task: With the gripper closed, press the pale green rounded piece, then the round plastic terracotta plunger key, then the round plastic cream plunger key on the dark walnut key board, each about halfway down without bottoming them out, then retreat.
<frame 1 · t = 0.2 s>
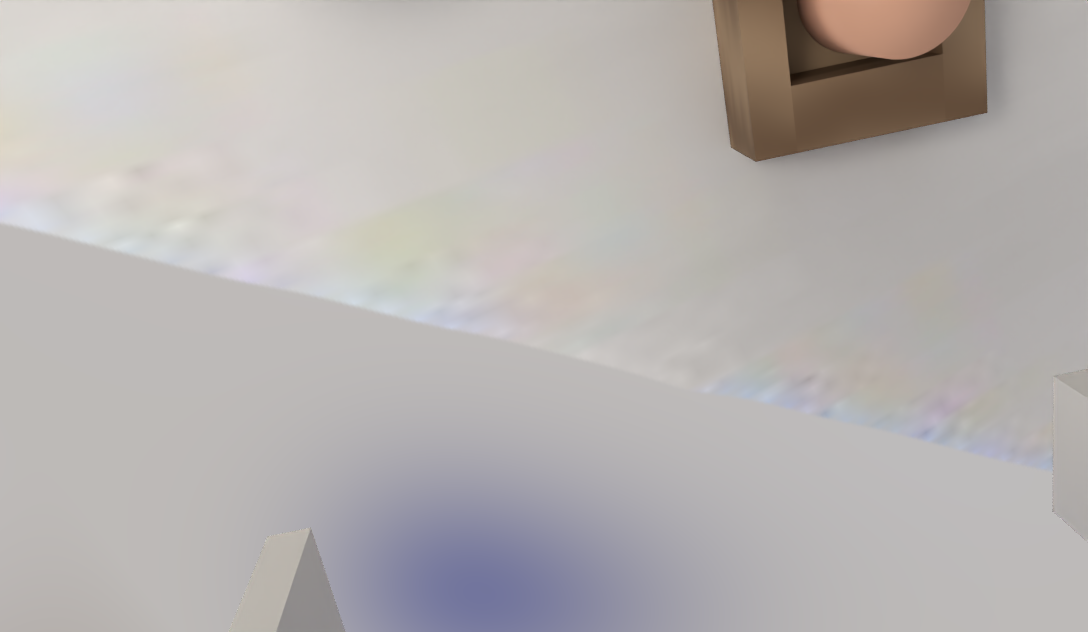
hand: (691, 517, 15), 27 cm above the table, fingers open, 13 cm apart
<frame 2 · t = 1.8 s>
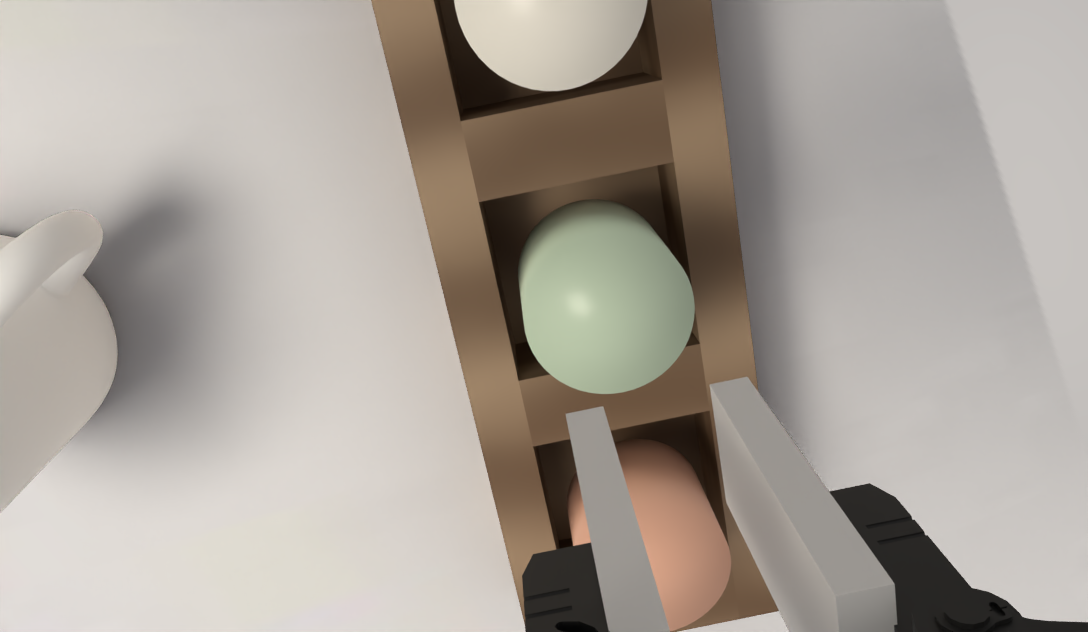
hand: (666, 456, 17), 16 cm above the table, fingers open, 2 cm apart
key board: (580, 244, 33), on the table
pale green rounded piece: (600, 292, 28), point 6 cm above the table, slide at 0.0 cm
mug: (43, 300, 33), on the table
terracotta key: (643, 532, 31), point 6 cm above the table, slide at 0.0 cm
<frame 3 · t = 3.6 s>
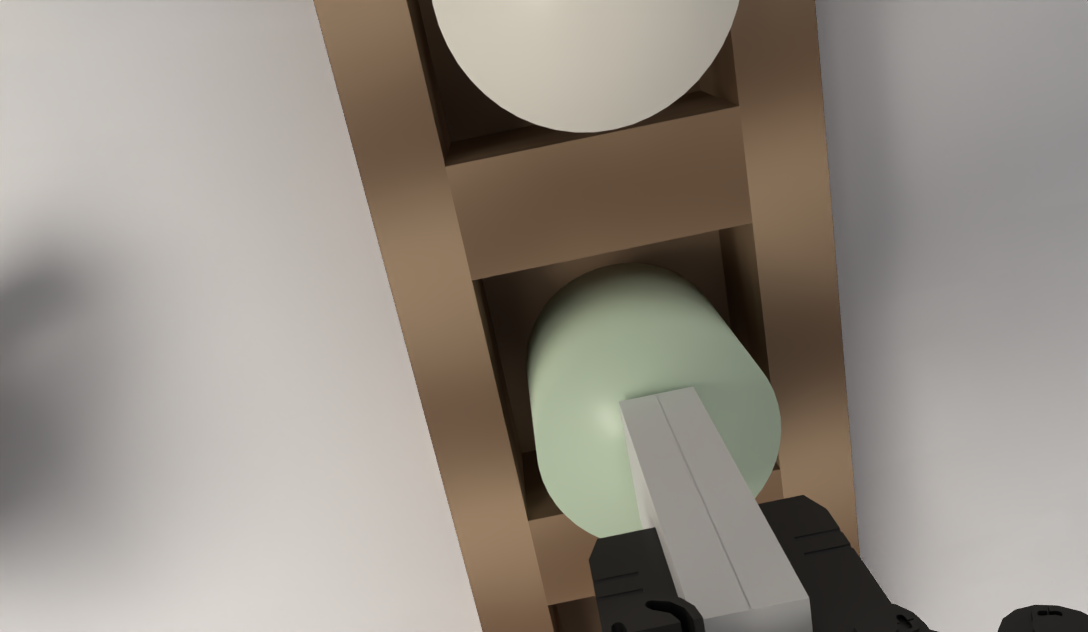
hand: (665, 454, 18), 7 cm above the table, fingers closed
key board: (610, 321, 24), on the table
pale green rounded piece: (641, 396, 20), point 5 cm above the table, slide at 0.9 cm, touching gripper
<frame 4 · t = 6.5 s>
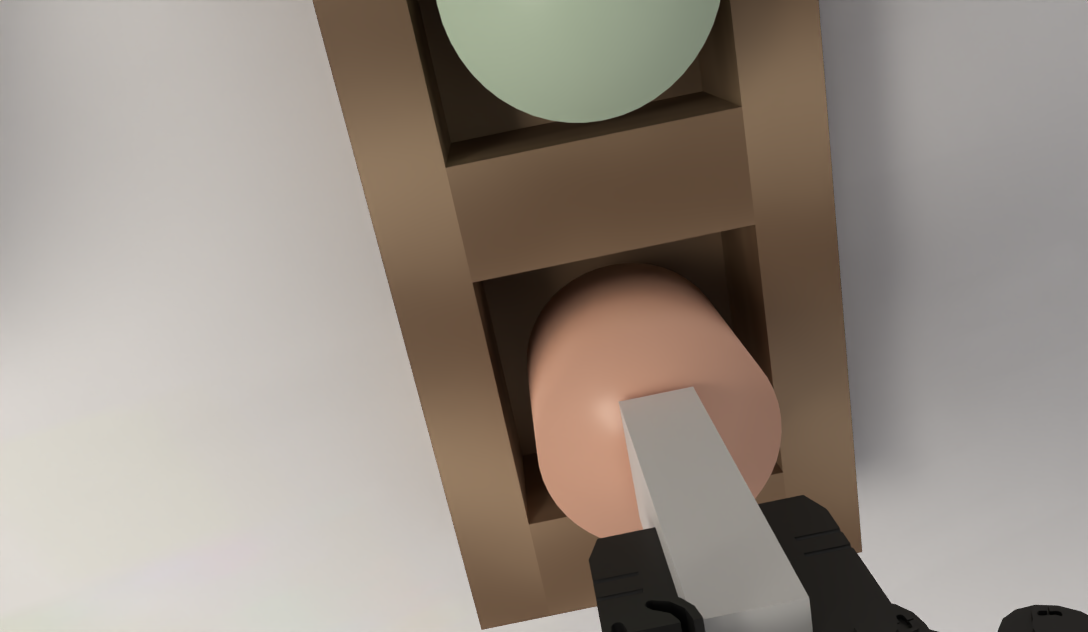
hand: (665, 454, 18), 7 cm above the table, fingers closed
terracotta key: (641, 396, 20), point 5 cm above the table, slide at 1.0 cm, touching gripper
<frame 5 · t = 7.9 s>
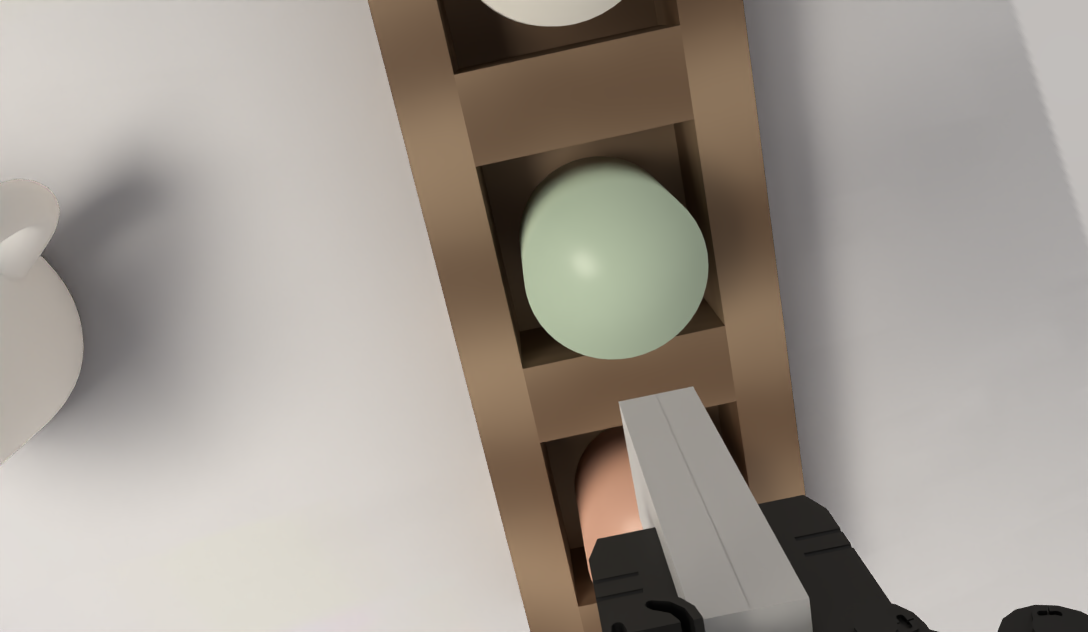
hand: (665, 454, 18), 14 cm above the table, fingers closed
key board: (590, 220, 30), on the table
pale green rounded piece: (606, 252, 26), point 4 cm above the table, slide at 1.4 cm
mug: (3, 287, 30), on the table
terracotta key: (656, 514, 29), point 4 cm above the table, slide at 1.4 cm
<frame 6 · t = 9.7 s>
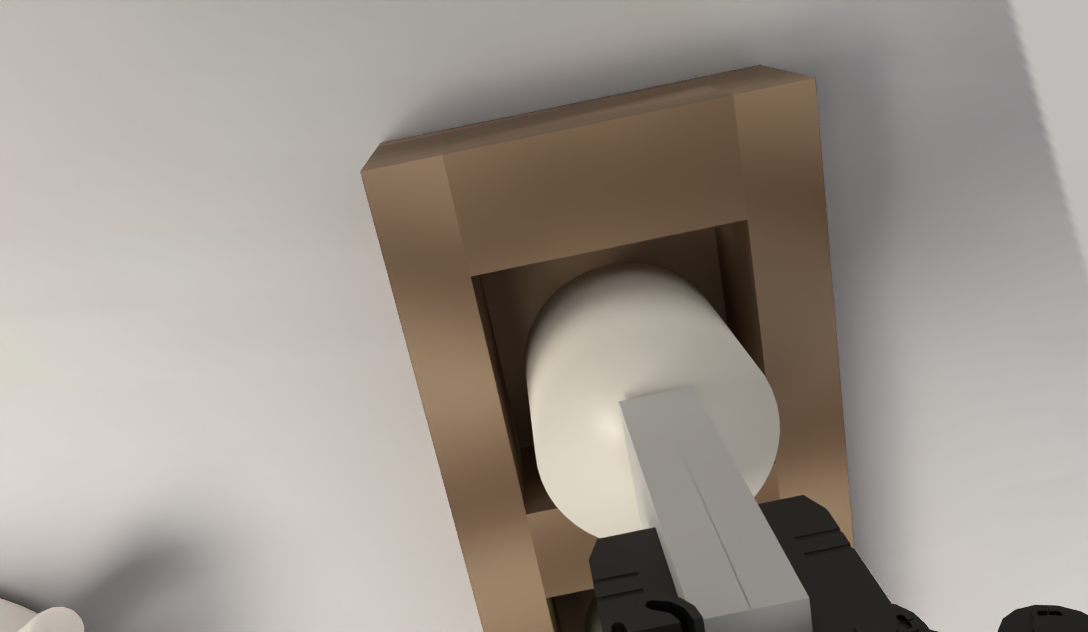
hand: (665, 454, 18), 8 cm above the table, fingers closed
key board: (654, 578, 28), on the table
cream key: (639, 396, 20), point 5 cm above the table, slide at 0.6 cm, touching gripper
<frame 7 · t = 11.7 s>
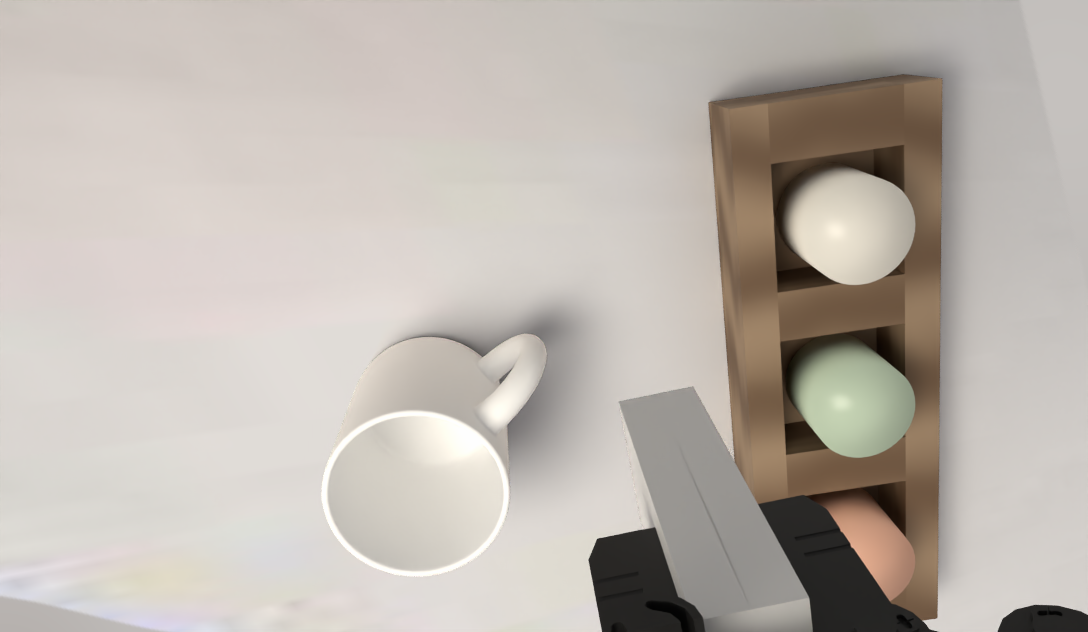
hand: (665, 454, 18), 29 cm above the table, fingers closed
key board: (816, 362, 49), on the table
cream key: (842, 222, 42), point 4 cm above the table, slide at 1.4 cm
pale green rounded piece: (847, 393, 45), point 4 cm above the table, slide at 1.4 cm
mug: (456, 380, 48), on the table
terracotta key: (851, 545, 48), point 4 cm above the table, slide at 1.4 cm
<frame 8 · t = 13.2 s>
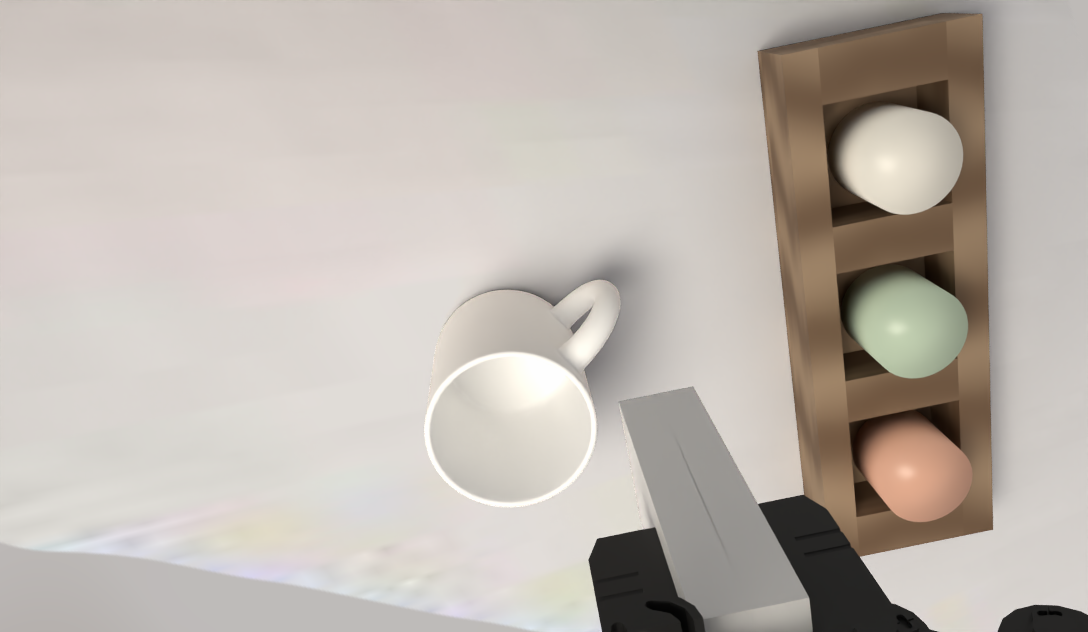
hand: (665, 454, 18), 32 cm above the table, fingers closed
key board: (868, 294, 52), on the table
cream key: (892, 156, 44), point 4 cm above the table, slide at 1.4 cm
pale green rounded piece: (901, 319, 48), point 4 cm above the table, slide at 1.4 cm
mug: (528, 330, 51), on the table
terracotta key: (910, 463, 51), point 4 cm above the table, slide at 1.4 cm
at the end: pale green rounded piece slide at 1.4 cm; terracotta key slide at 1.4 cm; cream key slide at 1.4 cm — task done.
